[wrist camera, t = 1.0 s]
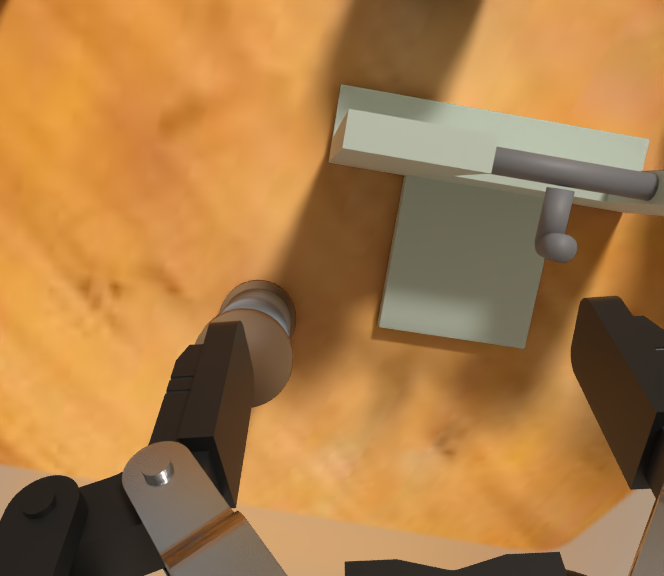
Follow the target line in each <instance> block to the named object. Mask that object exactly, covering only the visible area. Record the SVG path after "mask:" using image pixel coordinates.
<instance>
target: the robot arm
mask: <svg viewBox="0 0 664 576" xmlns="http://www.w3.org/2000/svg"><path fill="white" fill-rule="evenodd" d="M571 363H572V368H573V371H574V374H575V376H576V378H577V380H578V382H579V384H580V386H581V388H582V390H583V392H584V395H585V397H586V399H587V401H588V403H589V405H590V407H591V409H592V411H593V413H594V415H595V417H596V419H597V421H598V423H599V426H600V428H601V430H602V432H603V434H604V436H605V438H606V440H607V442H608V444H609V446H610V448H611V450H612V452H613V454H614V457H615V459H616V461H617V463H618V465H619V467H620V469H621V471H622V473H623V475H624V477H625V479H626V481H627V483H628V485H629V488H630V490H631V489H649V488H650V489H651V490H652V492H653V494H654V496H655V498H656V500H655V503H654V505H653V508H652V511H651V513H650V516H649V519H648V522H647V525H646V527H645V530H644V533H643V536H642V539H641V541H640V544H639V547H638V550H637V553H636V555H635V558H634V561H633V564H632V566H631V569H630V572H629V575H628V576H664V330H663V329H662V328H660V327H659V326H657V325H656V324H654V323H653V322H652V321H650V320H649V319H647V318H646V317H644V316H634V317H633V315H632V314H631V312H630V311H629V310H628V308H627V307H626V305H625V304H624V302H623V301H622V299H621V298H620V297H618V296H607V297H592V298H583V299H582V300H581V302H580V305H579V310H578V315H577V320H576V325H575V330H574V335H573V340H572V345H571ZM166 391H167V393H166V394H165V396H164V399H163V402H162V405H161V408H160V412H159V415H158V418H157V421H156V424H155V427H154V430H153V433H152V436H151V439H150V442H149V445H148V446H147V447H145V448H143V449H141V450H140V451H138V452H137V453H136V454H135V455H134V456H133V457H132V458H131V459H130V460H129V462H128V463H127V464H126V466H125V468H124V471H123V472H121V473H119V474H117V475H115V476H112V477H110V478H107V479H104V480H101V481H98V482H95V483H92V484H89V485H85V486H82V487H80V488H79V487H78V485H77V484H76V482H75V481H74V480H73V479H71V478H69V477H66V476H61V475H53V476H48V477H44V478H41V479H39V480H36V481H34V482H33V483H31V484H29V485H28V486H26V487H25V488H23V489H22V490H21V491H20V492H19V493H17V494H16V495H15V497H14V498H13V499H12V500H11V501H10V503H9V504H8V506H7V508H6V509H5V512H4V514H3V516H2V518H1V520H0V576H144V575H147V574H149V573H152V572H155V571H158V570H160V569H163V570H164V572H165V574H166V575H167V576H287V575H286V573H285V572H284V570H283V569H282V568H281V566H280V565H279V563H278V562H277V561H276V559H275V558H274V557H273V555H272V554H271V552H270V551H269V550H268V548H267V547H266V546H265V544H264V543H263V541H262V540H261V539H260V537H259V536H258V534H257V533H256V532H255V530H254V529H253V528H252V526H251V525H250V523H249V522H248V521H247V519H246V518H245V517H244V516H243V515H242V514H241V513H240V512H239V511H236V512H235V513H234V512H233V511H232V509H231V508H236V504H237V497H238V491H239V484H240V478H241V471H242V465H243V459H244V452H245V446H246V439H247V433H248V426H249V420H250V414H251V407H252V401H253V394H254V371H253V365H252V361H251V357H250V352H249V348H248V343H247V339H246V335H245V330H244V326H243V323H242V322H241V321H226V322H212V323H210V324H209V326H208V329H207V333H206V336H205V340H204V343H203V344H197V345H189V346H188V347H187V348H186V350H185V351H184V352H183V353H182V354H181V355H180V356H179V358H178V359H177V360H176V362H175V366H174V369H173V372H172V375H171V380H170V381H169V384H168V387H167V390H166ZM345 576H587V575H584V574H580V573H577V572H574V571H570V570H566V569H565V567H564V564H563V561H562V558H561V555H560V552H547V553H525V554H506V555H503V556H500V557H496V558H493V559H490V560H487V561H484V562H480V563H478V564H474V565H471V566H468V567H465V568H462V569H458V570H446V569H441V568H436V567H431V566H427V565H421V564H417V563H412V562H407V561H402V560H397V559H396V560H395V559H393V560H372V561H349V562H345Z"/></svg>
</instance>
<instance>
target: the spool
mask: <svg viewBox="0 0 664 576" xmlns="http://www.w3.org/2000/svg"><path fill="white" fill-rule="evenodd" d="M226 321H241V322H242V323H243V326H244V330H245V335H246V339H247V343H248V348H249V352H250V357H251V361H252V365H253V371H254V394H253V401H252V407H256V406H260V405H262V404H264V403H267V402H268V401H270V400H272V399H273V398H274V397H276V396H277V395H278V394H279V393H280V392H281V391H282V389H283V388H284V387H285V385H286V383H287V381H288V379H289V377H290V374H291V369H292V360H293V350H292V345H291V341H290V338H291V337H292V335H293V332H294V328H295V321H296V312H295V307H294V304H293V302H292V300H291V298H290V297H289V295H288V294H287V293H286V292H285V291H284V290H283V289H282V288H281V287H279V286H278V285H276V284H274V283H271V282H269V281H264V280H252V281H248V282H244V283H242V284H240V285H238V286H237V287H235V288H234V289H233V290H232V291H231V292H230V293H229V294H228V296H227V297H226V298H225V300H224V302H223V304H222V306H221V309H220V313H219V315H218V316H216V317H215V318H214V319H212V320H211V321H210V322H209V323H208V324H207V325H206V327H205V328H204V329H203V331H202V332H201V334H200V335H199V337H198V339H197V341H196V343H195V345H197V344H203V343H204V340H205V336H206V333H207V329H208V326H209V324H210V323H212V322H226Z"/></svg>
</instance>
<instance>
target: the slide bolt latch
mask: <svg viewBox="0 0 664 576" xmlns="http://www.w3.org/2000/svg"><path fill="white" fill-rule="evenodd" d="M649 141H650V139H645V138H640V137H634V136H628V135H623V134H617V133H612V132H606V131H600V130H595V129H589V128H584V127H578V126H573V125H567V124H561V123H556V122H550V121H545V120H539V119H533V118H528V117H522V116H517V115H511V114H506V113H500V112H494V111H489V110H483V109H478V108H472V107H466V106H461V105H455V104H450V103H444V102H439V101H433V100H427V99H422V98H416V97H411V96H405V95H399V94H394V93H388V92H383V91H377V90H372V89H366V88H360V87H355V86H349V85H344V84H341V86H340V92H339V98H338V105H337V111H336V117H335V124H334V130H333V136H332V142H331V149H330V155H329V161H328V163H333V164H339V165H345V166H350V167H356V168H362V169H368V170H374V171H380V172H386V173H392V174H398V175H404V179H403V184H402V190H401V195H400V201H399V206H398V212H397V218H396V223H395V229H394V234H393V240H392V245H391V251H390V256H389V262H388V267H387V273H386V278H385V284H384V289H383V295H382V300H381V306H380V311H379V317H378V322H377V324H378V326H379V327H381V328H388V329H395V330H401V331H408V332H415V333H421V334H428V335H435V336H441V337H448V338H455V339H461V340H468V341H475V342H481V343H488V344H495V345H501V346H508V347H515V348H521V349H525V345H526V340H527V336H528V331H529V327H530V323H531V318H532V314H533V309H534V305H535V301H536V296H537V292H538V287H539V283H540V278H541V274H542V270H543V265H544V261H545V258H546V259H550V260H553V261H556V262H560V263H565V262H568V261H570V260H571V259H573V258H574V256H575V255H576V252H577V243H576V241H575V239H574V238H573V237H571V236H569V235H565V232H566V228H567V223H568V219H569V215H570V210H571V206H572V204H575V205H581V206H587V207H593V208H599V209H605V210H611V211H616V212H622V213H633V214H645V215H656V216H664V170H655V171H642V169H643V165H644V161H645V157H646V153H647V149H648V145H649Z"/></svg>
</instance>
